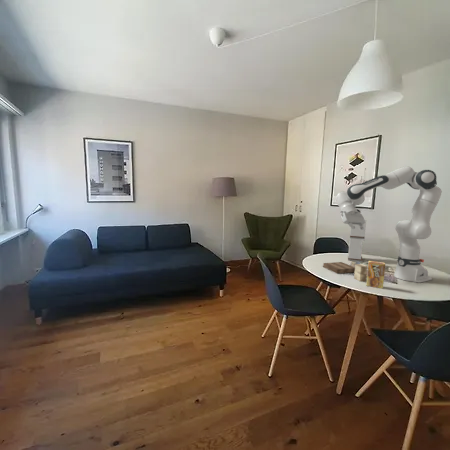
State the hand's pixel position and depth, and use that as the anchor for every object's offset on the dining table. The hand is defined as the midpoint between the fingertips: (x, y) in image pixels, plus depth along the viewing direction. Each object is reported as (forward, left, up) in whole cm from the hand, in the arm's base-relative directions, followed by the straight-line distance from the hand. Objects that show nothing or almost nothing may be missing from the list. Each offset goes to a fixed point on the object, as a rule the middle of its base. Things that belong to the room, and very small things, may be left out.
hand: (358, 228), depth 174 cm
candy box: (+3, +20, -33) cm, 39 cm away
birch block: (+3, +8, -33) cm, 34 cm away
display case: (-30, -35, -33) cm, 56 cm away
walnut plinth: (+2, -14, -33) cm, 35 cm away
